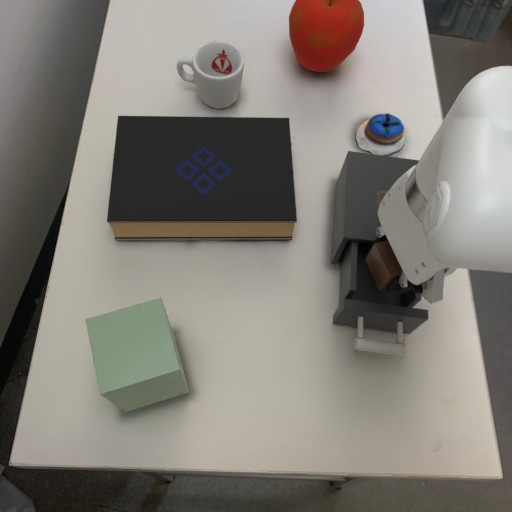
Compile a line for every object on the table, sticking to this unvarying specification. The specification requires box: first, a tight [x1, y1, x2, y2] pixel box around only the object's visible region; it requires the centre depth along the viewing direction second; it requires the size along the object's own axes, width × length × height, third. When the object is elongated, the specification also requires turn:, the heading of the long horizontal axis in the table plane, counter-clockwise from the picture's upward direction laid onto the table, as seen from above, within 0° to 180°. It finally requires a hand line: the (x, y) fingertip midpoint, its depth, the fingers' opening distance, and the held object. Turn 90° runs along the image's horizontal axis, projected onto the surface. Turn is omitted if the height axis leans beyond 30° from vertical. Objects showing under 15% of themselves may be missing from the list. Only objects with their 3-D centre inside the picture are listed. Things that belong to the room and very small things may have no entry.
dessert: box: [355, 112, 406, 156], centre depth 80 cm, size 8×7×6 cm
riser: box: [85, 297, 190, 413], centre depth 56 cm, size 8×8×14 cm
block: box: [365, 240, 402, 291], centre depth 59 cm, size 4×4×4 cm
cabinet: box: [330, 150, 420, 266], centre depth 69 cm, size 14×12×9 cm
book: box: [106, 115, 298, 241], centre depth 71 cm, size 17×25×7 cm
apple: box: [288, 0, 365, 73], centre depth 80 cm, size 12×12×14 cm
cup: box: [176, 40, 245, 109], centre depth 79 cm, size 11×8×8 cm
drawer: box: [332, 240, 429, 357], centre depth 65 cm, size 17×10×7 cm, turn 173°
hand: (388, 268), depth 61 cm, fingers closed on block, 4 cm apart
